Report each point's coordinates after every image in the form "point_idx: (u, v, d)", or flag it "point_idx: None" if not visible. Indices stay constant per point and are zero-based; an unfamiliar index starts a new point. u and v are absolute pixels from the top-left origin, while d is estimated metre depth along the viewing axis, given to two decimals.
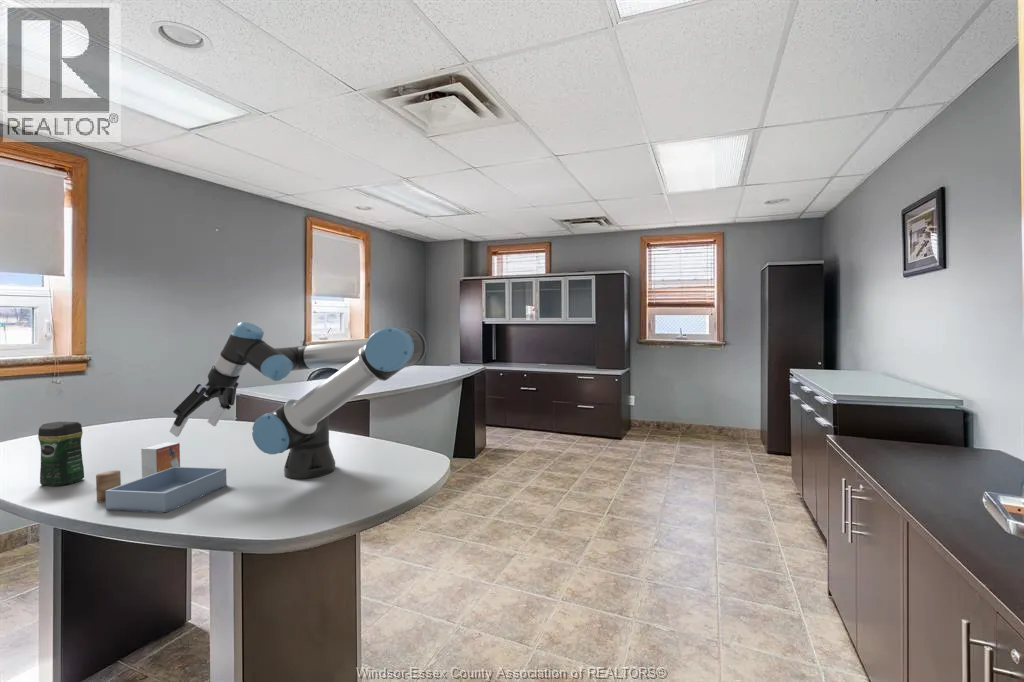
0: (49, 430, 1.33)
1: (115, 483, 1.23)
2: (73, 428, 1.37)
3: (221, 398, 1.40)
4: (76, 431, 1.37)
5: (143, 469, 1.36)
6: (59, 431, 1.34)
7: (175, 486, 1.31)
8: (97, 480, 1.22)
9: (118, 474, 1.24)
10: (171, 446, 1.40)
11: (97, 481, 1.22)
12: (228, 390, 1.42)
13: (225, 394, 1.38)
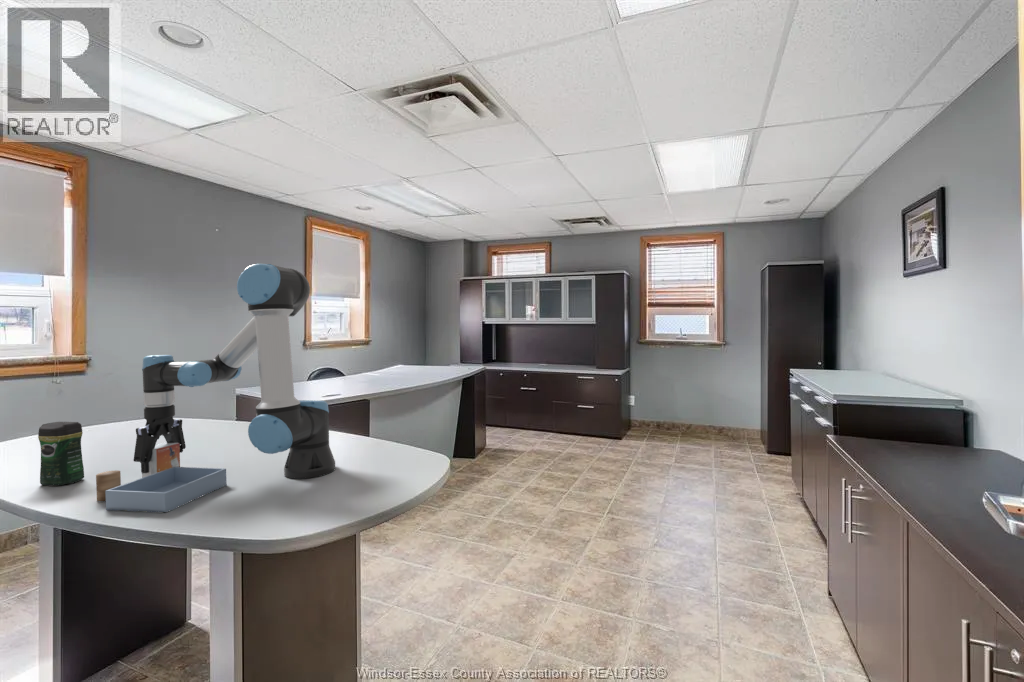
0: (49, 430, 1.33)
1: (115, 483, 1.23)
2: (73, 428, 1.37)
3: (169, 440, 1.42)
4: (76, 431, 1.37)
5: None
6: (59, 431, 1.34)
7: (175, 486, 1.31)
8: (97, 480, 1.22)
9: (118, 474, 1.24)
10: (171, 446, 1.40)
11: (97, 481, 1.22)
12: (174, 431, 1.45)
13: (171, 430, 1.41)
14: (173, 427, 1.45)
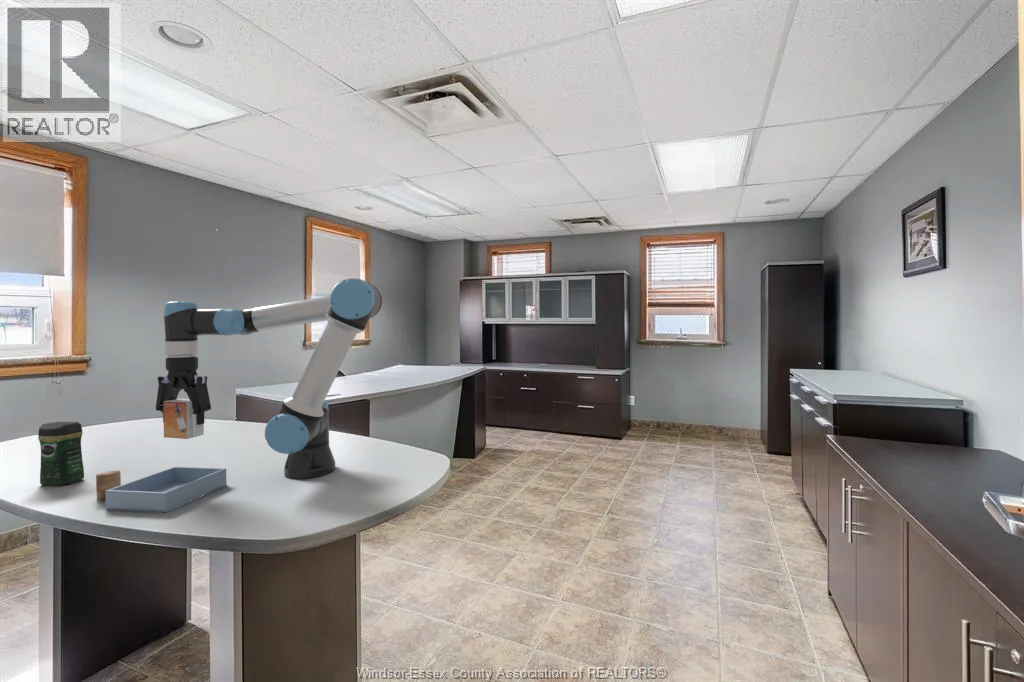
0: (49, 430, 1.33)
1: (115, 483, 1.23)
2: (73, 428, 1.37)
3: None
4: (76, 431, 1.37)
5: None
6: (59, 431, 1.34)
7: (175, 486, 1.31)
8: (97, 480, 1.22)
9: (118, 474, 1.24)
10: (177, 403, 1.26)
11: (97, 481, 1.22)
12: None
13: (184, 386, 1.27)
14: None
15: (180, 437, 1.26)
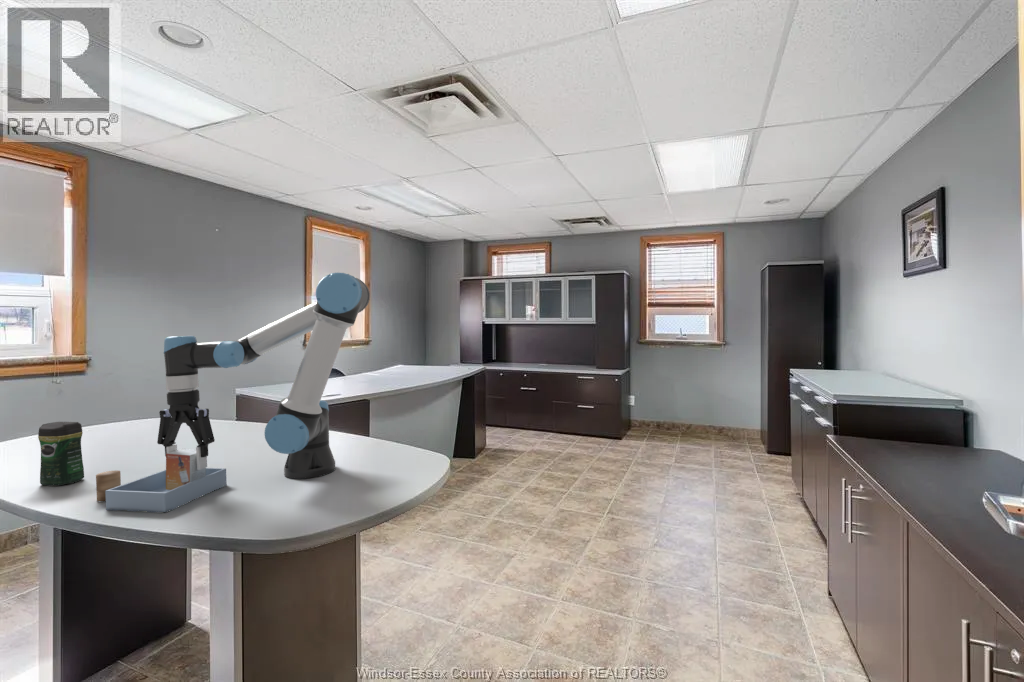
0: (49, 430, 1.33)
1: (115, 483, 1.23)
2: (73, 428, 1.37)
3: None
4: (76, 431, 1.37)
5: None
6: (59, 431, 1.34)
7: None
8: (97, 480, 1.22)
9: (118, 474, 1.24)
10: (181, 456, 1.27)
11: (97, 481, 1.22)
12: None
13: (186, 420, 1.27)
14: None
15: None
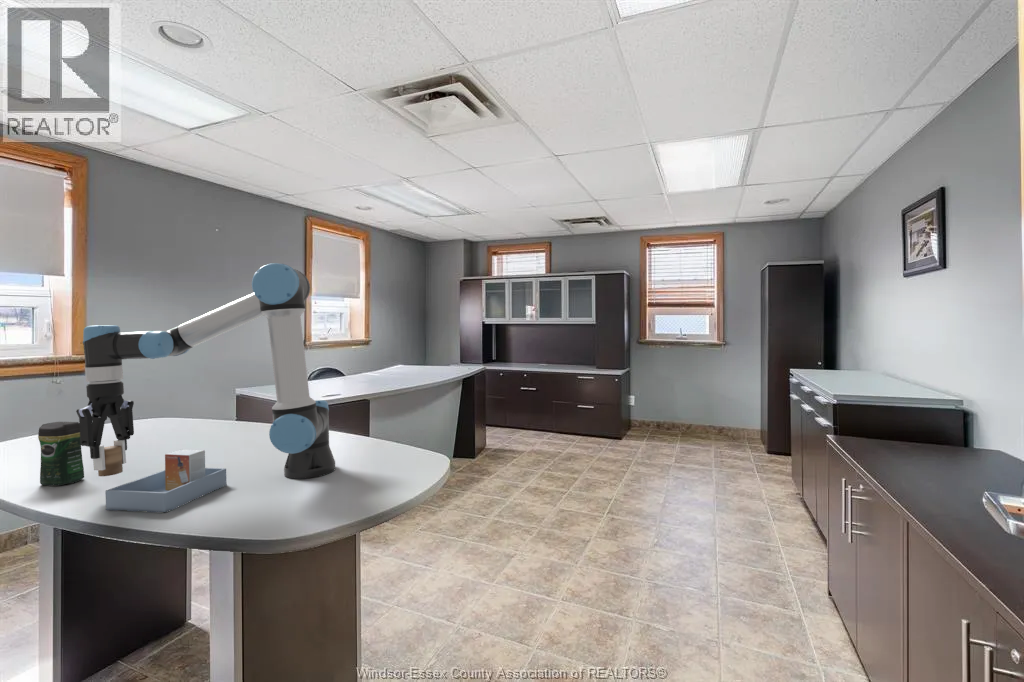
0: (49, 430, 1.33)
1: (116, 457, 1.23)
2: (73, 428, 1.37)
3: (116, 423, 1.25)
4: (76, 431, 1.37)
5: None
6: (59, 431, 1.34)
7: None
8: None
9: (119, 449, 1.24)
10: (180, 456, 1.27)
11: None
12: (123, 414, 1.28)
13: (119, 411, 1.25)
14: (122, 409, 1.28)
15: None
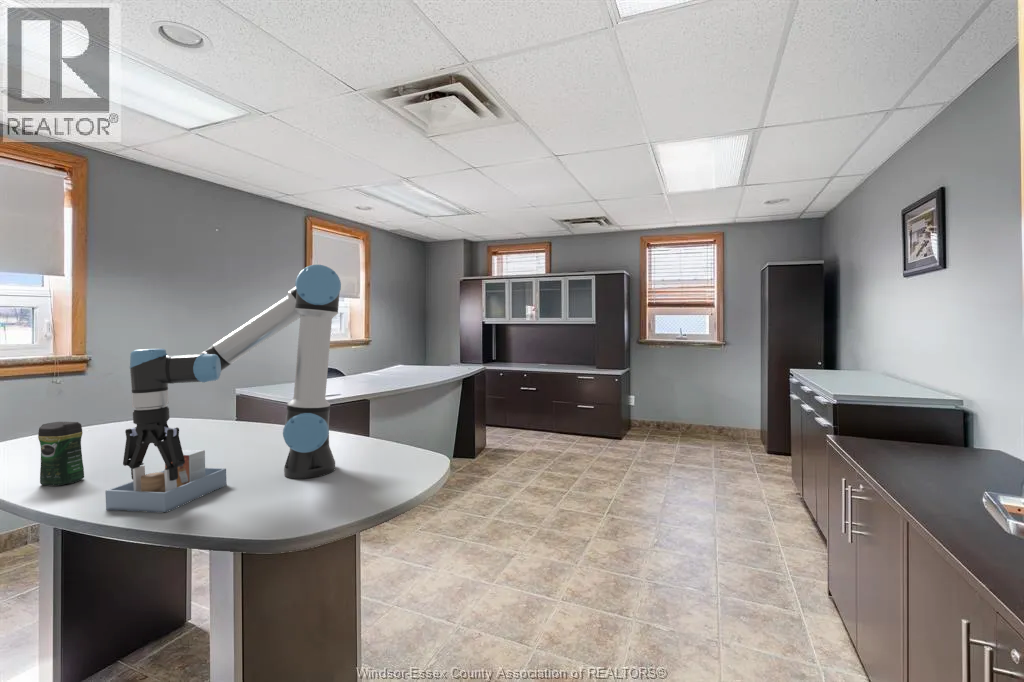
0: (49, 430, 1.33)
1: (143, 488, 1.17)
2: (73, 428, 1.37)
3: None
4: (76, 431, 1.37)
5: None
6: (59, 431, 1.34)
7: None
8: None
9: (147, 480, 1.17)
10: None
11: None
12: None
13: (154, 440, 1.17)
14: None
15: None
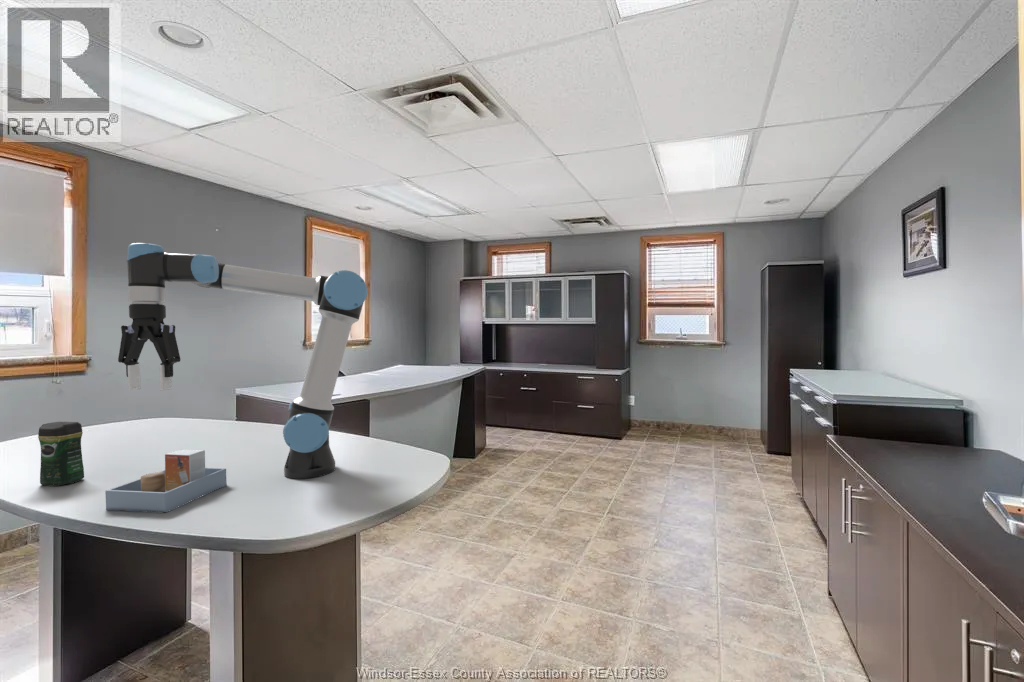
0: (49, 430, 1.33)
1: (143, 488, 1.17)
2: (73, 428, 1.37)
3: None
4: (76, 431, 1.37)
5: None
6: (59, 431, 1.34)
7: None
8: None
9: (147, 480, 1.17)
10: (180, 456, 1.27)
11: None
12: None
13: (150, 335, 1.17)
14: None
15: None
